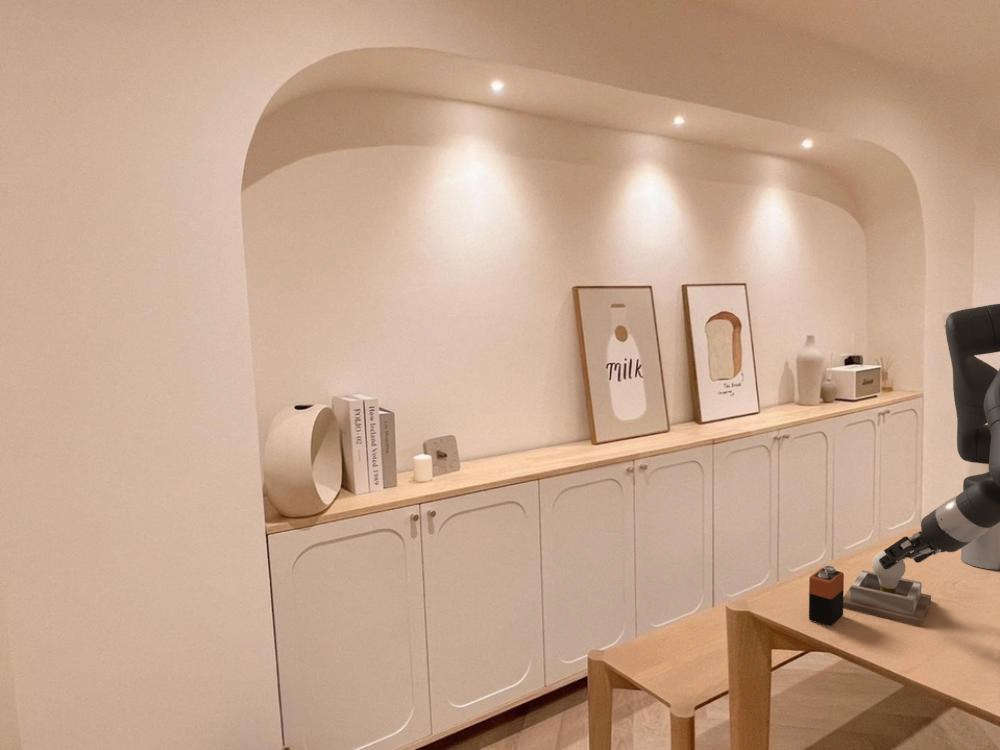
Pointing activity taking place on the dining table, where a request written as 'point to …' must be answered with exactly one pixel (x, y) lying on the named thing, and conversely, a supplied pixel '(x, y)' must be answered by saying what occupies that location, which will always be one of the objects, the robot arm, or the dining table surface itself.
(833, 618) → the battery
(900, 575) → the light bulb
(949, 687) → the dining table surface
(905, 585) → the frame
